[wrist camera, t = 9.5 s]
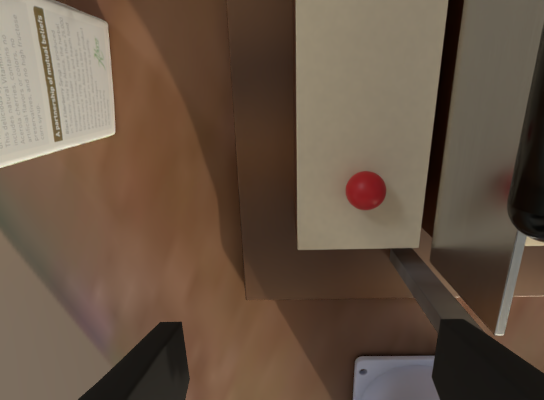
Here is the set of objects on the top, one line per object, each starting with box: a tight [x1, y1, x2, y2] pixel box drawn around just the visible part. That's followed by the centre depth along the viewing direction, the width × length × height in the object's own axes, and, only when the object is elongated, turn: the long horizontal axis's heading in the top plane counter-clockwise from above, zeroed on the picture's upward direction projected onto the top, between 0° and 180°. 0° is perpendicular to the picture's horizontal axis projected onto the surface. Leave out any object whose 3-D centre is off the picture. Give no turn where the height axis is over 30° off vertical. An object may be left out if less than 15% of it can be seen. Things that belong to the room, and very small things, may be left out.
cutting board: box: [226, 0, 544, 333], centre depth 13 cm, size 24×18×8 cm
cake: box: [292, 0, 544, 250], centre depth 13 cm, size 14×12×5 cm
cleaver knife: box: [429, 0, 544, 335], centre depth 9 cm, size 15×2×6 cm, turn 2°
